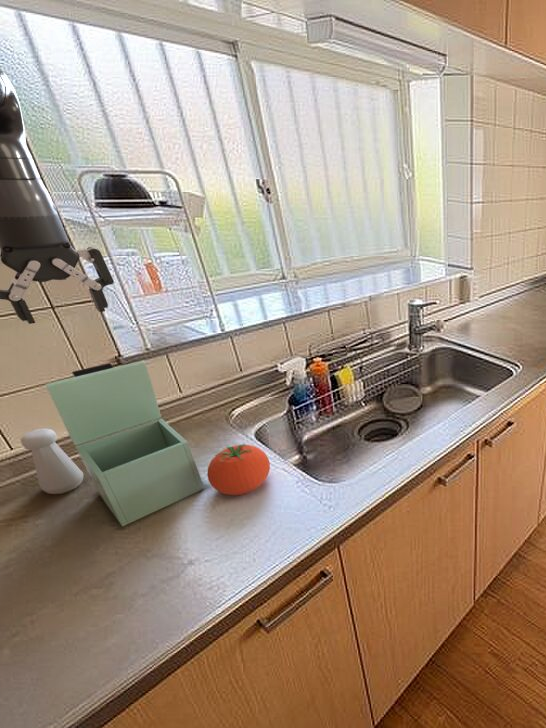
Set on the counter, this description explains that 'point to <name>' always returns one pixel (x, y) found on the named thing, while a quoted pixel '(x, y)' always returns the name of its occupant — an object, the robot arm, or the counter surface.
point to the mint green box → (141, 469)
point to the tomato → (238, 469)
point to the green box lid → (104, 400)
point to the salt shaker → (51, 462)
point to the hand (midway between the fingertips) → (67, 316)
